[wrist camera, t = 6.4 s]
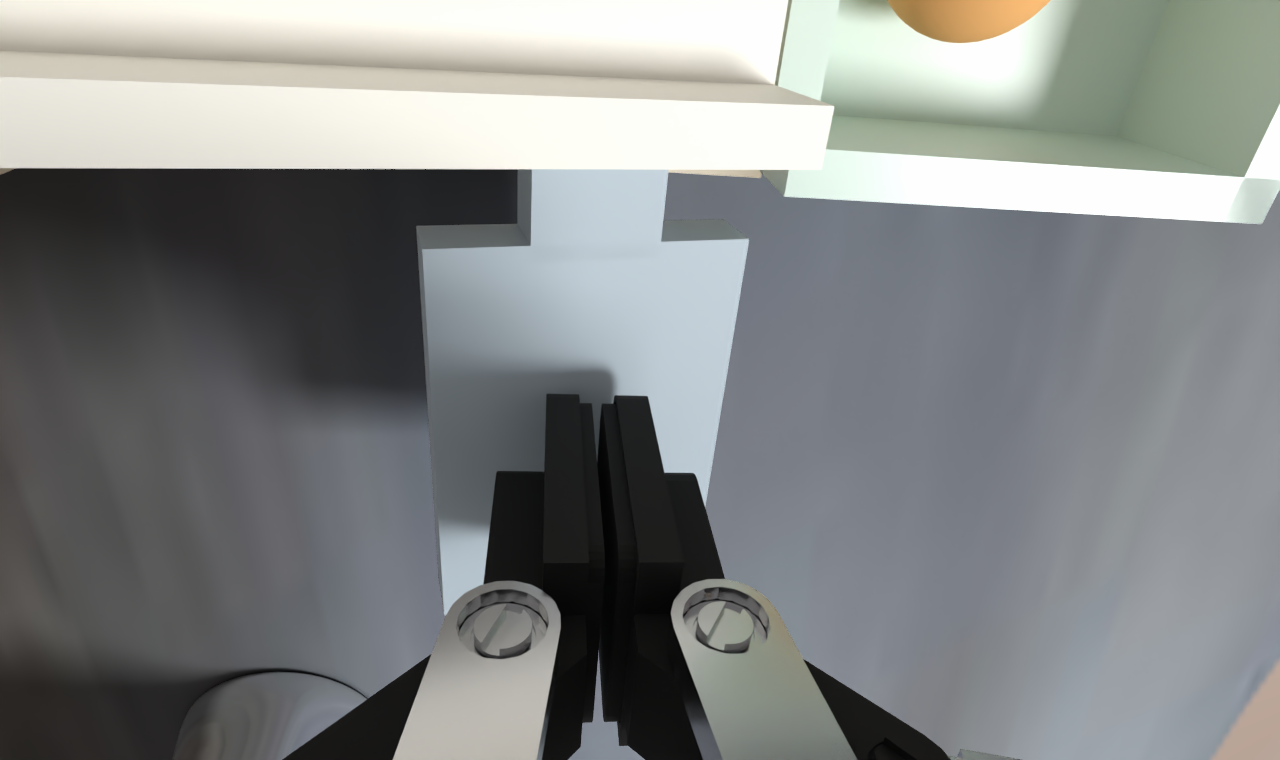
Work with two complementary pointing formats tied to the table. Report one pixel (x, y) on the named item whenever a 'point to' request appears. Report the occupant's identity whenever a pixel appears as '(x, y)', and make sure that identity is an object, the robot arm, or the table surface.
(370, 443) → the table surface
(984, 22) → the ball
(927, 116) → the tray
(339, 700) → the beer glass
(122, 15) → the lever
